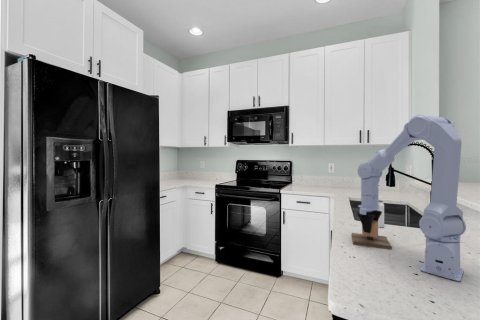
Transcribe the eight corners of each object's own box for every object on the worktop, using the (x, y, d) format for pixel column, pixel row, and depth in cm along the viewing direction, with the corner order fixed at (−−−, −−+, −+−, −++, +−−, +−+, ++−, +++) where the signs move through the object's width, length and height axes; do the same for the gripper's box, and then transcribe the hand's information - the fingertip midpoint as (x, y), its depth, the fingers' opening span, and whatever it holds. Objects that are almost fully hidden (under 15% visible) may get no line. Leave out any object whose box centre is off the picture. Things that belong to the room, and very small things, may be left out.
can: (376, 228, 105) (376, 202, 105) (365, 224, 111) (365, 200, 111) (387, 227, 106) (387, 201, 107) (376, 223, 113) (375, 199, 113)
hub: (375, 237, 83) (375, 224, 83) (360, 234, 87) (360, 221, 87) (379, 234, 87) (379, 221, 87) (364, 231, 91) (364, 219, 91)
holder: (391, 249, 79) (391, 235, 79) (353, 244, 84) (353, 230, 84) (385, 239, 90) (385, 226, 90) (351, 235, 95) (351, 223, 95)
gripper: (365, 192, 95) (365, 225, 95) (350, 195, 85) (351, 232, 85) (384, 194, 90) (385, 228, 90) (371, 197, 80) (371, 236, 80)
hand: (369, 230), depth 87 cm, fingers closed on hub, 5 cm apart
